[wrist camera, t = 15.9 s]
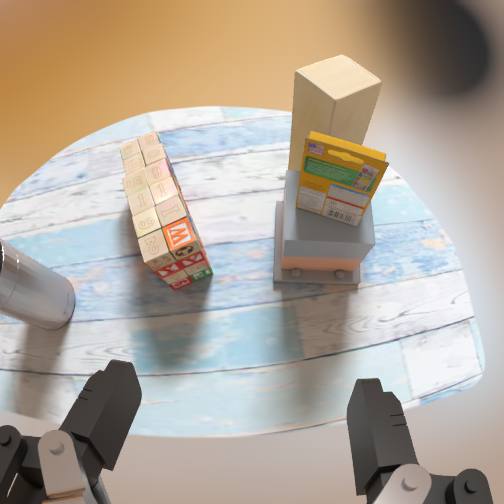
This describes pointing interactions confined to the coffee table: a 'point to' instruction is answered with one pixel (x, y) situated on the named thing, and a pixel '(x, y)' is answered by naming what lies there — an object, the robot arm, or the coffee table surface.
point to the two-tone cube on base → (318, 243)
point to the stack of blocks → (161, 214)
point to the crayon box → (338, 177)
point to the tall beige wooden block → (331, 103)
